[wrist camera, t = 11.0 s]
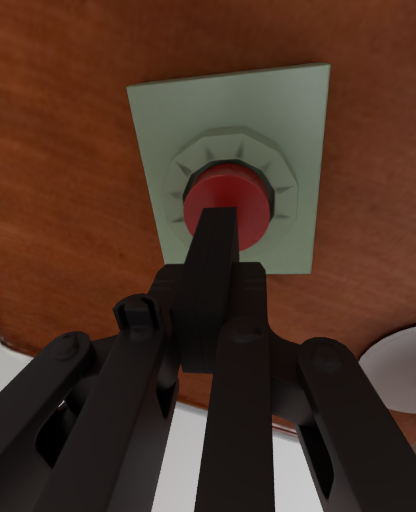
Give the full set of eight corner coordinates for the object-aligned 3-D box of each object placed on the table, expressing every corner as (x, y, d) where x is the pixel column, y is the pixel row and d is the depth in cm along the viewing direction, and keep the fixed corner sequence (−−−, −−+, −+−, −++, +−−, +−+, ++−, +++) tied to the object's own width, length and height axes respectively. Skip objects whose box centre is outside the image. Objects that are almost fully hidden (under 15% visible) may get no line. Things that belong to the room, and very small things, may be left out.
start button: (183, 165, 16) (176, 176, 15) (269, 160, 15) (270, 171, 14) (194, 238, 19) (189, 253, 17) (269, 236, 18) (270, 252, 16)
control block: (138, 82, 18) (111, 90, 14) (323, 61, 16) (340, 64, 13) (173, 257, 24) (160, 291, 21) (306, 256, 22) (315, 291, 19)
